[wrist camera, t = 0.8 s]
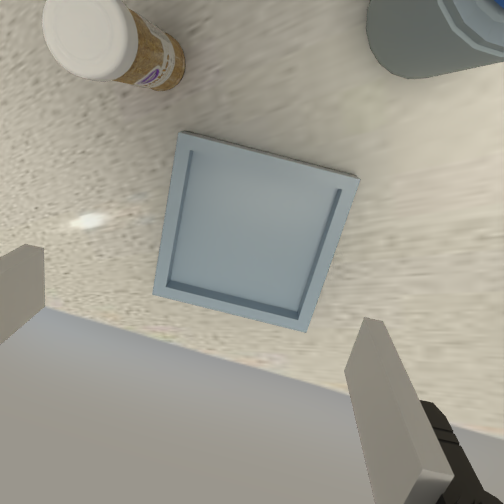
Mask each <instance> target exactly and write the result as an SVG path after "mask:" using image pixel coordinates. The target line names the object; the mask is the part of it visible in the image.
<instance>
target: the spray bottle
mask: <svg viewBox="0 0 504 504" xmlns="http://www.w3.org/2000/svg"><path fill="white" fill-rule="evenodd" d="M366 31H367V36H368V40H369V45H370V49H371V50H372V52H373V54H374V55H375V57H376V59H377V60H378V62H379V63H380V64H381V65H382V66H383V67H385V68H386V69H387V70H388V71H390V72H391V73H392V74H395V75H398V76H401V77H404V78H407V79H417V78H429V77H433V76H438V75H443V74H448V73H452V72H457V71H462V70H466V69H471V68H476V67H480V66H485V65H490V64H495V63H499V62H504V0H371V1H370V4H369V7H368V10H367V25H366Z"/></svg>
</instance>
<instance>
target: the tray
mask: <svg viewBox="0 0 504 504" xmlns="http://www.w3.org/2000/svg"><path fill="white" fill-rule="evenodd" d="M359 182H360V179H359V178H358V177H357V176H356V175H353V174H349V173H345V172H341V171H337V170H333V169H330V168H326V167H322V166H318V165H314V164H310V163H307V162H303V161H299V160H295V159H291V158H287V157H283V156H280V155H276V154H272V153H268V152H264V151H260V150H257V149H253V148H249V147H245V146H241V145H237V144H234V143H230V142H226V141H222V140H218V139H214V138H211V137H207V136H203V135H199V134H195V133H191V132H188V131H181V132H178V139H177V145H176V151H175V157H174V163H173V170H172V176H171V182H170V188H169V194H168V201H167V207H166V213H165V219H164V225H163V231H162V238H161V244H160V250H159V256H158V262H157V269H156V275H155V281H154V287H153V293H152V295H156V296H160V297H164V298H168V299H172V300H176V301H180V302H185V303H189V304H193V305H197V306H201V307H205V308H209V309H213V310H217V311H221V312H225V313H229V314H233V315H237V316H241V317H245V318H249V319H253V320H257V321H261V322H265V323H269V324H273V325H277V326H281V327H285V328H289V329H293V330H297V331H301V332H305V333H306V332H307V329H308V326H309V323H310V320H311V318H312V315H313V312H314V309H315V306H316V304H317V301H318V298H319V295H320V292H321V289H322V287H323V284H324V281H325V278H326V275H327V273H328V270H329V267H330V264H331V261H332V258H333V256H334V253H335V250H336V247H337V244H338V242H339V239H340V236H341V233H342V230H343V228H344V225H345V222H346V219H347V216H348V213H349V211H350V208H351V205H352V202H353V199H354V197H355V194H356V191H357V188H358V185H359Z"/></svg>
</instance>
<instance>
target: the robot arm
mask: <svg viewBox="0 0 504 504" xmlns="http://www.w3.org/2000/svg"><path fill="white" fill-rule="evenodd" d="M44 307H45V282H44V248H41V247H37V246H32V245H28V244H24V245H22V246H20V247H19V248H17V249H15V250H13V251H11V252H10V253H8V254H6V255H4V256H2V257H0V345H1V344H2V343H3V342H4V341H5V340H7V339H8V338H9V337H10V336H11V335H12V334H13V333H15V332H16V331H17V330H18V329H19V328H20V327H22V326H23V325H24V324H25V323H26V322H27V321H29V320H30V319H31V318H32V317H33V316H34V315H36V314H37V313H38V312H39V311H40V310H41V309H43V308H44ZM344 372H345V376H346V381H347V385H348V389H349V394H350V398H351V402H352V406H353V411H354V415H355V419H356V424H357V428H358V432H359V436H360V440H361V445H362V449H363V454H364V458H365V462H366V467H367V471H368V475H369V479H370V484H371V488H372V492H373V497H374V501H375V504H503V503H502V502H501V501H500V500H499V499H497V498H496V497H495V496H493V495H491V494H489V493H488V492H486V491H484V489H483V487H482V485H481V483H480V481H479V480H478V478H477V476H476V474H475V472H474V470H473V468H472V466H471V464H470V462H469V460H468V458H467V457H466V455H465V453H464V451H463V449H462V447H461V446H459V442H458V439H457V438H456V436H455V434H453V430H452V428H451V426H450V424H449V422H448V420H447V418H446V416H445V415H444V414H443V413H442V412H441V411H440V410H439V409H438V408H437V407H436V406H435V405H434V403H431V402H427V401H422V400H419V398H418V396H417V394H416V392H415V389H414V387H413V385H412V383H411V381H410V379H409V376H408V374H407V372H406V370H405V368H404V366H403V364H402V361H401V359H400V357H399V355H398V353H397V351H396V348H395V346H394V344H393V342H392V340H391V338H390V335H389V333H388V331H387V329H386V327H385V325H384V322H383V321H379V320H375V319H370V318H365V317H364V320H363V322H362V325H361V328H360V330H359V333H358V335H357V338H356V341H355V343H354V346H353V349H352V351H351V354H350V357H349V359H348V362H347V365H346V367H345V370H344Z"/></svg>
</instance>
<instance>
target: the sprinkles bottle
mask: <svg viewBox="0 0 504 504" xmlns="http://www.w3.org/2000/svg"><path fill="white" fill-rule="evenodd" d="M42 29H43V34H44V38H45V41H46V44H47V46H48V48H49V50H50V52H51V54H52V55H53V57H54V58H55V59H56V61H57V62H58V63H59V64H60V65H61V66H62V67H63V68H64V69H66V70H67V71H69V72H70V73H72V74H74V75H76V76H78V77H81V78H85V79H89V80H94V81H101V82H106V81H111V80H112V81H118V82H123V83H126V84H129V85H133V86H138V87H144V88H151V89H153V90H156V91H165V90H168V89H171V88H173V87H175V86H176V85H177V84H178V83H179V81H180V80H181V79H182V76H183V73H184V70H185V57H184V54H183V51H182V49H181V47H180V45H179V43H178V42H177V41H176V40H175V39H174V38H173V37H172V36H170V35H169V34H167V33H165V32H163V31H162V30H160V29H159V28H158V27H156V26H155V25H153V24H152V23H150V22H149V21H147V20H146V19H144V18H143V17H141V16H140V15H138V14H137V13H135V12H134V11H132V10H130V9H128V8H127V6H126V5H125V4H124V3H123V2H122V1H121V0H46V2H45V5H44V9H43V14H42Z"/></svg>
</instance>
